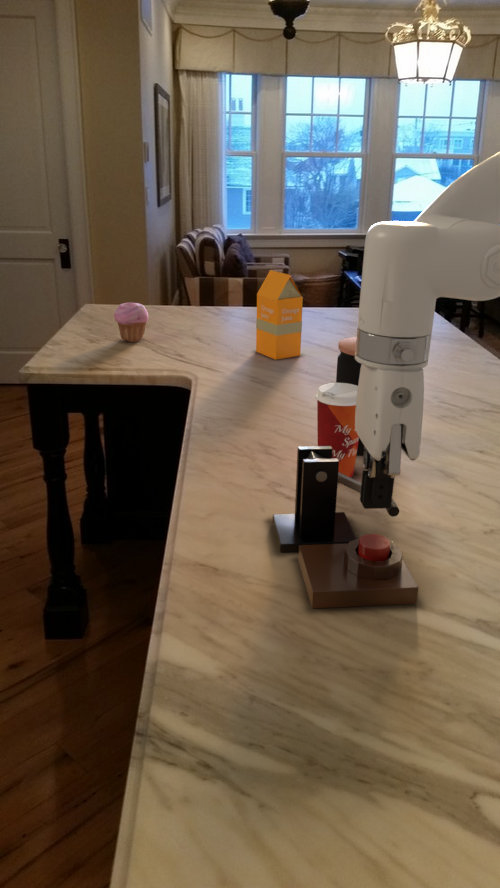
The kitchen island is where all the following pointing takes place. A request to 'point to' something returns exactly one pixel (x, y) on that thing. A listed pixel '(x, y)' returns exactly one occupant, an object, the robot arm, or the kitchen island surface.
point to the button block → (355, 577)
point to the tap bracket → (314, 505)
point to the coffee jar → (349, 371)
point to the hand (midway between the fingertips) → (375, 504)
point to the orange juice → (279, 317)
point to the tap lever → (356, 485)
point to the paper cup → (338, 423)
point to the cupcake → (131, 321)
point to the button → (374, 547)
